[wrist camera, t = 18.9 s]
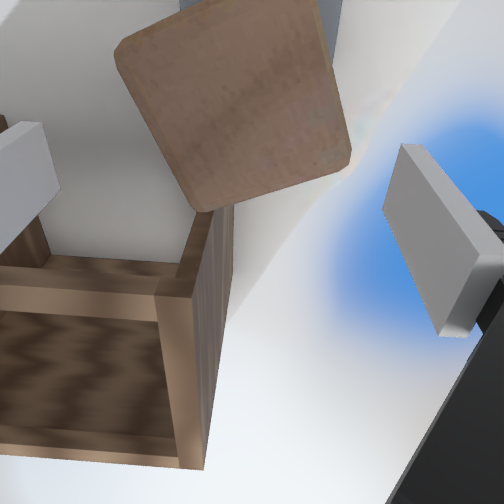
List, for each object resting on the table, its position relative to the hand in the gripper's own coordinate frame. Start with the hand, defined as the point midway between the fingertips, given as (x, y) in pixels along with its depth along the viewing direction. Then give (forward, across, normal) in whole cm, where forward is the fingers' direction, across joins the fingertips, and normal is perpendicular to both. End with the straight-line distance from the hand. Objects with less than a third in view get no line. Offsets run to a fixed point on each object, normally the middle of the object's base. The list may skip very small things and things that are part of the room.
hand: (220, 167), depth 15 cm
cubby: (+27, -14, -18) cm, 35 cm away
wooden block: (+26, 0, 0) cm, 26 cm away
